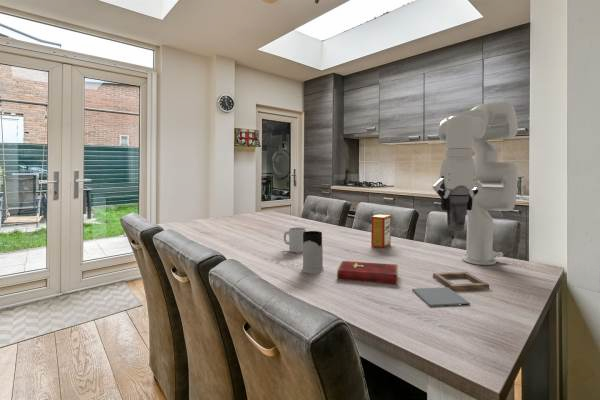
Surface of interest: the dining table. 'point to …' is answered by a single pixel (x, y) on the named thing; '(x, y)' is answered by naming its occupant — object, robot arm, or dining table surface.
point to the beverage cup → (457, 208)
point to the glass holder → (312, 252)
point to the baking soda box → (381, 231)
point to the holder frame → (475, 285)
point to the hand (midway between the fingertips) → (456, 209)
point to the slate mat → (439, 296)
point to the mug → (295, 239)
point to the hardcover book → (368, 272)
